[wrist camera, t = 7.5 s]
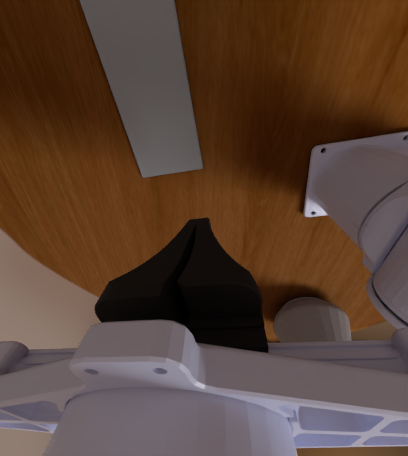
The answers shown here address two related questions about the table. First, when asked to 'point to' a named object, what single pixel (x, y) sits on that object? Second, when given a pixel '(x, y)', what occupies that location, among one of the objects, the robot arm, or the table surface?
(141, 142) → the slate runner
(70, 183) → the table surface
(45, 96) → the table surface
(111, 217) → the table surface
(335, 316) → the coffee pot
